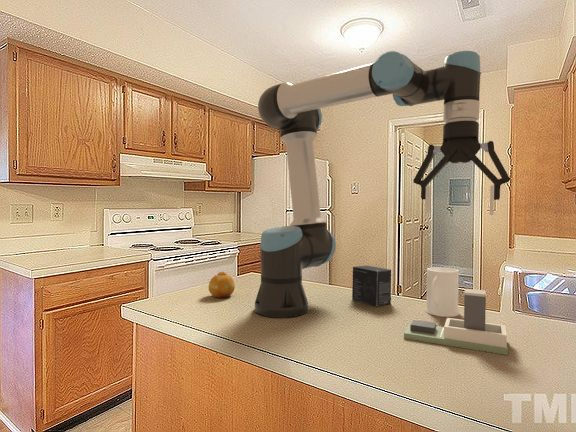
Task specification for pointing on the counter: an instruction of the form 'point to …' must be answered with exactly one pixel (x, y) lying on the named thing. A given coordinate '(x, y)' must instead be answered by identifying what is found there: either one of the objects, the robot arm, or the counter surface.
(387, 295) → the box
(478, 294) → the plug
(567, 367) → the counter surface
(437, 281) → the white upright cylinder
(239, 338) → the counter surface
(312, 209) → the robot arm
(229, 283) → the fruit
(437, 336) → the board
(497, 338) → the tray
